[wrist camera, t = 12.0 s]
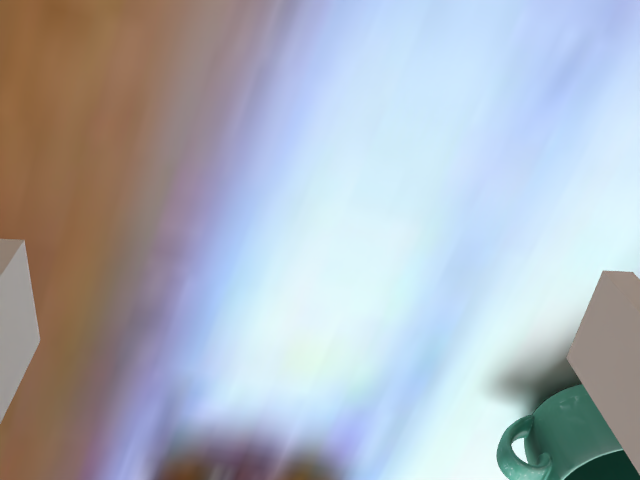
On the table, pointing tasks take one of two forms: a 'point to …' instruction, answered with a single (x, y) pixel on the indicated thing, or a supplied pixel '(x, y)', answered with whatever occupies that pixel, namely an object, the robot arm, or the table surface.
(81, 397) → the table surface
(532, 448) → the mug
